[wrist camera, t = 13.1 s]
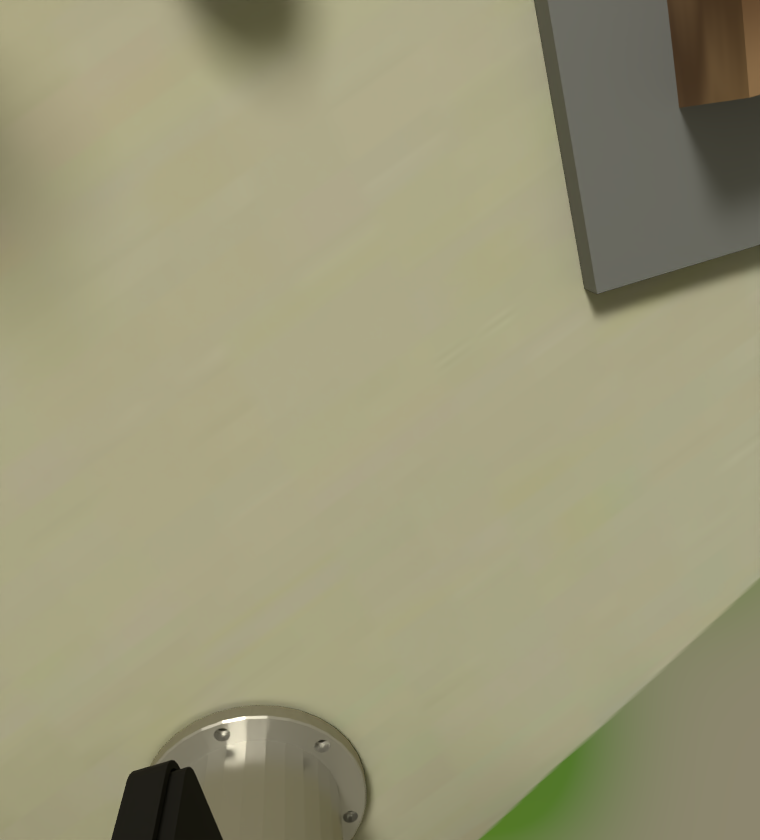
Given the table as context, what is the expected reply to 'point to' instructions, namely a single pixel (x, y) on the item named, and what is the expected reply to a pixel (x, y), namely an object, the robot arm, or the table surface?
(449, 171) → the table surface
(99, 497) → the table surface
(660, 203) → the plate
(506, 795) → the table surface
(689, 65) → the open wooden cubby
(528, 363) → the table surface
